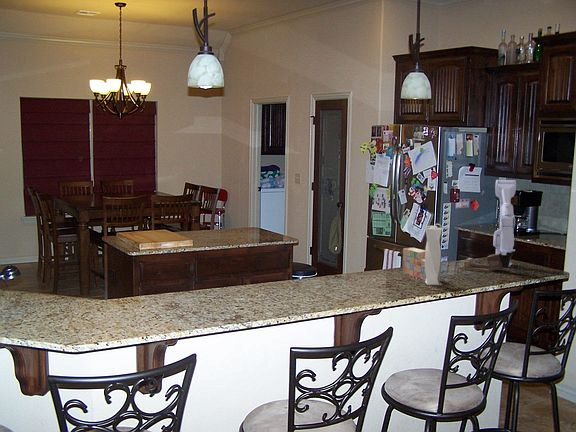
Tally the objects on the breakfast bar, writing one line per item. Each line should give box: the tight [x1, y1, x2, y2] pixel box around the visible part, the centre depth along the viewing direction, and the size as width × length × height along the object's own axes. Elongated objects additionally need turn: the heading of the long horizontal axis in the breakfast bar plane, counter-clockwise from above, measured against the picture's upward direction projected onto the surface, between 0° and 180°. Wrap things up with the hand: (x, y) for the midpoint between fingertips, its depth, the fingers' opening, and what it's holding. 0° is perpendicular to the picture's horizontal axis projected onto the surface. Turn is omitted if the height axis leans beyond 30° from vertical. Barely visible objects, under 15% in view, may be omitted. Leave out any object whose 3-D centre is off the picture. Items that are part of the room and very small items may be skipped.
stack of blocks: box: [402, 247, 426, 281], centre depth 305 cm, size 21×6×12 cm, turn 24°
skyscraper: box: [423, 223, 443, 286], centre depth 289 cm, size 8×8×28 cm
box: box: [486, 253, 504, 272], centre depth 319 cm, size 6×6×7 cm
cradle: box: [463, 257, 490, 273], centre depth 324 cm, size 12×12×5 cm
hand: (505, 267), depth 317 cm, fingers closed
